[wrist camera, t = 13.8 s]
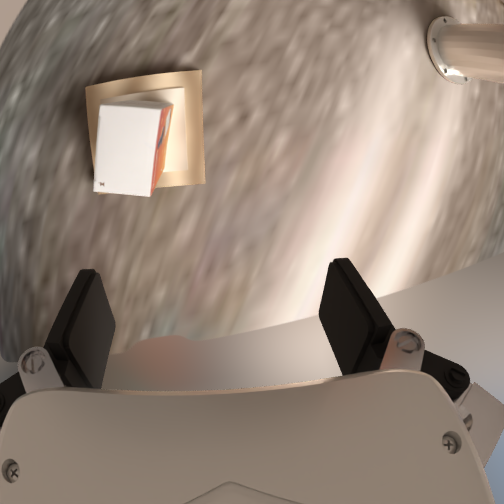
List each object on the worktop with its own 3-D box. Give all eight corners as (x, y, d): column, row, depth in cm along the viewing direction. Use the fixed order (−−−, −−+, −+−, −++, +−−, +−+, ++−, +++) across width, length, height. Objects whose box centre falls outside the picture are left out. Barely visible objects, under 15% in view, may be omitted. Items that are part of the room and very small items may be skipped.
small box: (164, 168, 33) (151, 200, 25) (120, 164, 32) (91, 194, 23) (175, 102, 30) (163, 108, 21) (128, 98, 28) (98, 103, 19)
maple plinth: (201, 72, 32) (201, 69, 28) (205, 175, 39) (205, 184, 35) (95, 86, 30) (84, 87, 26) (106, 185, 37) (97, 195, 34)
